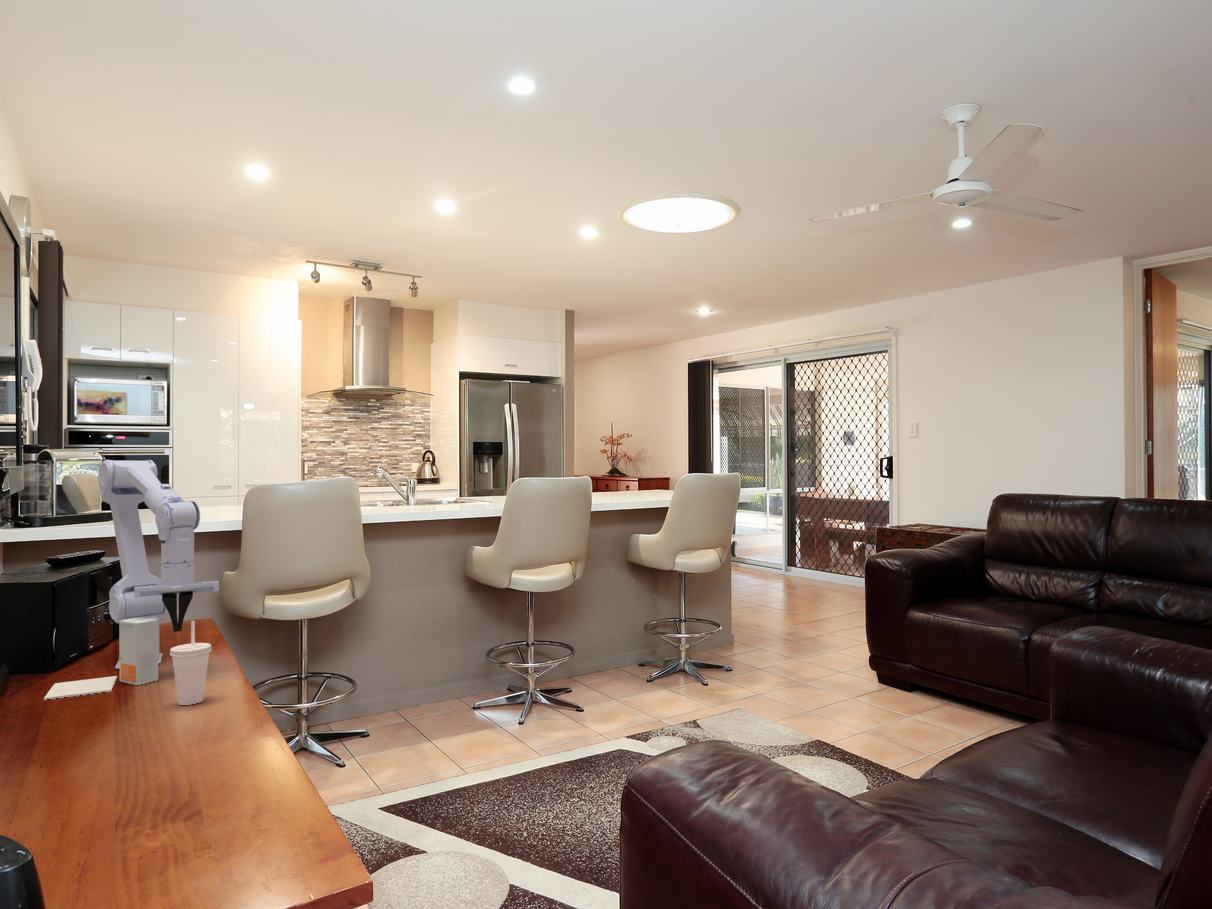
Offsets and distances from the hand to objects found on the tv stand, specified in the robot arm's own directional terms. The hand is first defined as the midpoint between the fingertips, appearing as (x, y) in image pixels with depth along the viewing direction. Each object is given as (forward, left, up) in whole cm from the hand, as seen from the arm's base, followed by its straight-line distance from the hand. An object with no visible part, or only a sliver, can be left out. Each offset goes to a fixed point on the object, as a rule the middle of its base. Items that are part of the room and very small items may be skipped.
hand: (177, 630), depth 147 cm
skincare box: (+1, -6, -9) cm, 11 cm away
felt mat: (+1, -15, -9) cm, 18 cm away
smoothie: (+22, +3, -9) cm, 24 cm away
